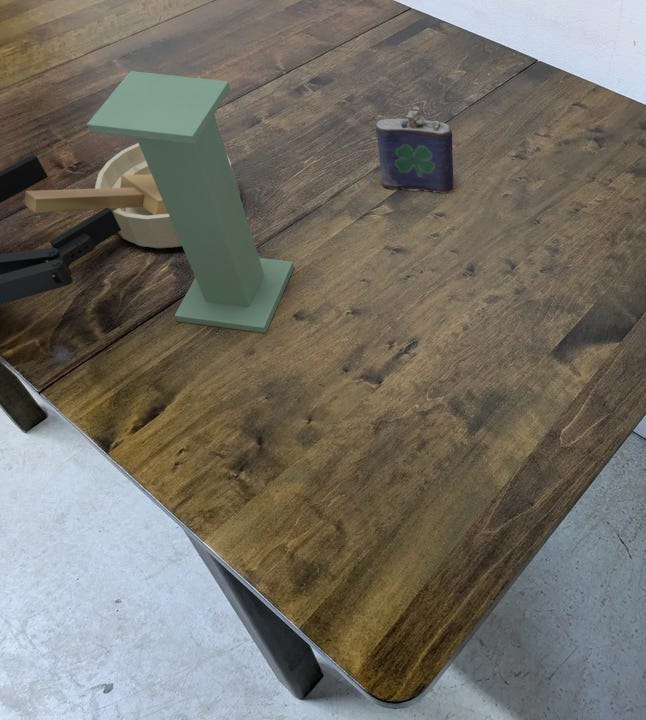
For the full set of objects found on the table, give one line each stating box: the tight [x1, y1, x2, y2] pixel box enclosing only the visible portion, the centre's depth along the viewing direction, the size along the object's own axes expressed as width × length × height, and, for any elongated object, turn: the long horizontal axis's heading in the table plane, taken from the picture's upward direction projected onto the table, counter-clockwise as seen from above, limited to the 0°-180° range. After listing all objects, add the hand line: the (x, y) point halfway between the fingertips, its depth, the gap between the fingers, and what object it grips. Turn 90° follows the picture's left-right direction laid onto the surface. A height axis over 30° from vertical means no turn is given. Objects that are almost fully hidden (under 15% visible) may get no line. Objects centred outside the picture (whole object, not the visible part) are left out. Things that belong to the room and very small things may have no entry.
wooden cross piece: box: [24, 175, 168, 215], centre depth 81 cm, size 7×18×2 cm, turn 141°
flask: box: [375, 106, 454, 194], centre depth 89 cm, size 9×3×11 cm, turn 84°
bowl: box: [94, 142, 241, 249], centre depth 87 cm, size 15×15×6 cm
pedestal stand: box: [86, 70, 295, 334], centre depth 71 cm, size 10×10×25 cm
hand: (76, 191), depth 77 cm, fingers open, 13 cm apart
